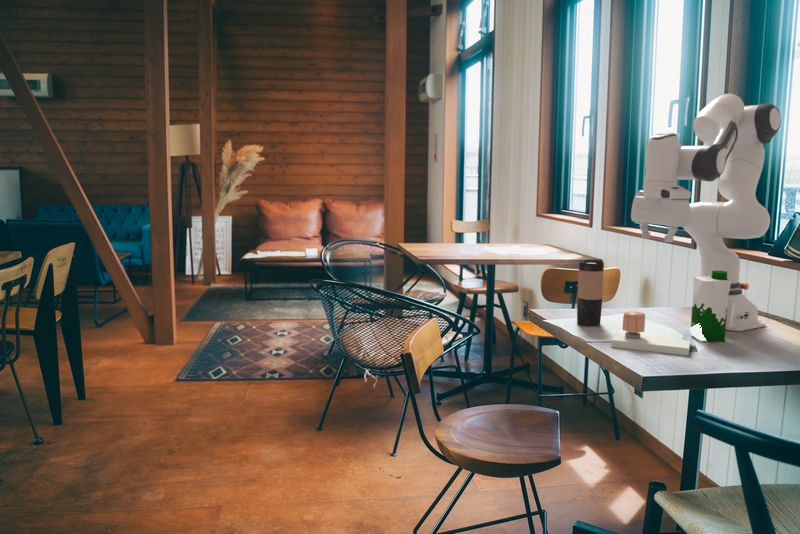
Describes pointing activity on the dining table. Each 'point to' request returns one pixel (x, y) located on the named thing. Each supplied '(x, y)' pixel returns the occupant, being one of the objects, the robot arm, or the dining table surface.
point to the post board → (650, 342)
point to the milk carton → (711, 305)
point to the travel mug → (590, 293)
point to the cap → (634, 322)
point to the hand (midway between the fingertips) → (657, 240)
